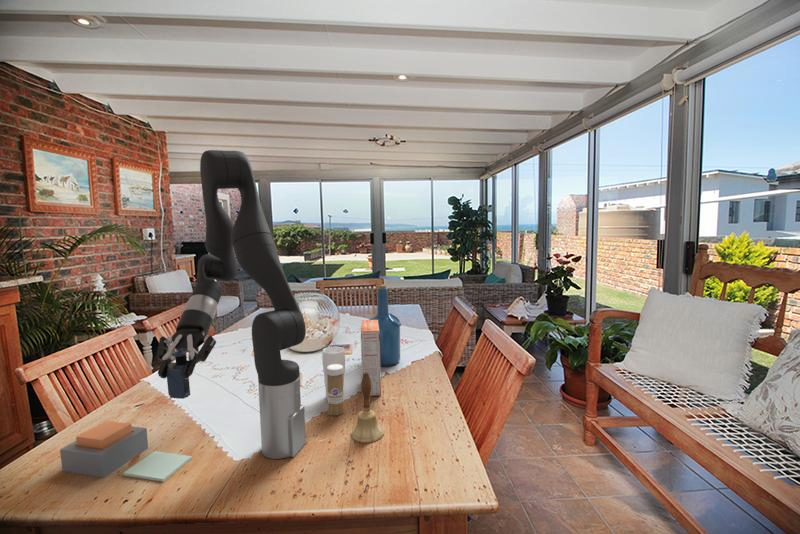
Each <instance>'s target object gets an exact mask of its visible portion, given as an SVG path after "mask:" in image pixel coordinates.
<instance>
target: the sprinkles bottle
mask: <svg viewBox="0 0 800 534" xmlns="http://www.w3.org/2000/svg"><path fill="white" fill-rule="evenodd" d="M327 376H328V398H327V407H328V408H327V409H328V410H327V413H328V415H330V416H339V415H342V414H343V413H344V411H345V408H344V395H343V390H344V389H343V366H342V365H340V364H332V365H329V366H328V367H327Z"/></svg>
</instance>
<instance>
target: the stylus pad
mask: <svg viewBox="0 0 800 534" xmlns="http://www.w3.org/2000/svg"><path fill="white" fill-rule="evenodd" d="M191 460H193V456H191V455H187V454H186V455H185V454H180V453H179V454H178V453H172V452H171V453H170V452H164V451H158V450H155V451H152V453H150V454H148V455H147V456H146V457H144V458H143V459H141V460H140V461H139V462H137V463H136V464H134V465H132V466H131V467H129V468H128V469H127V470H125V471H124V472H123V476H124V477H130V478H131V477H132V478H137V479H144V480H150V481H154V482H155V481H156V482H163V483H164V482H165V481H166V480H168V479H169V478H170V477H171V476H173V475H174V474H175V473H177V472H178V471H179V470H180V469H182V468H183V467H184V466H185V465H186V464H187V463H189V462H190V461H191Z"/></svg>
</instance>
